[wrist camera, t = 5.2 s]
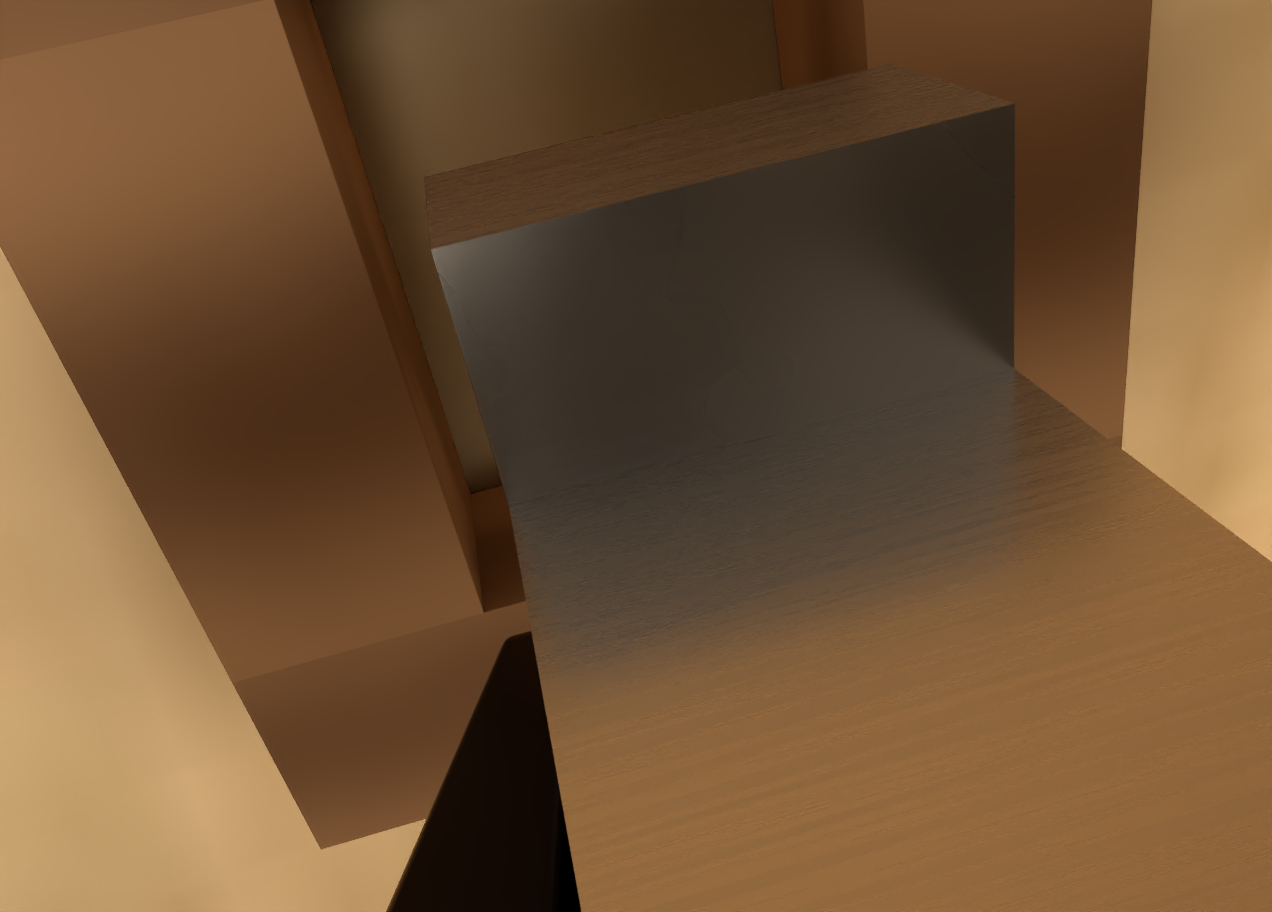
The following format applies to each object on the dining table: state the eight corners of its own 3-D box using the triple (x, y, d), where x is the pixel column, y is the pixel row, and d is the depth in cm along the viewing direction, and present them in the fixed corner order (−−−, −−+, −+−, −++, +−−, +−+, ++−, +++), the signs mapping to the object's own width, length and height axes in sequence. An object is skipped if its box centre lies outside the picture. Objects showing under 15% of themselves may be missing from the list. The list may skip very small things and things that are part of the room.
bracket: (921, 610, 11) (1494, 1388, 5) (582, 709, 11) (794, 1651, 5) (890, 63, 8) (2102, 447, 2) (424, 178, 8) (488, 945, 2)
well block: (1007, 513, 21) (1109, 617, 18) (334, 703, 20) (320, 849, 17) (1007, -530, 13) (1198, -667, 10) (-139, -306, 11) (-334, -382, 8)
